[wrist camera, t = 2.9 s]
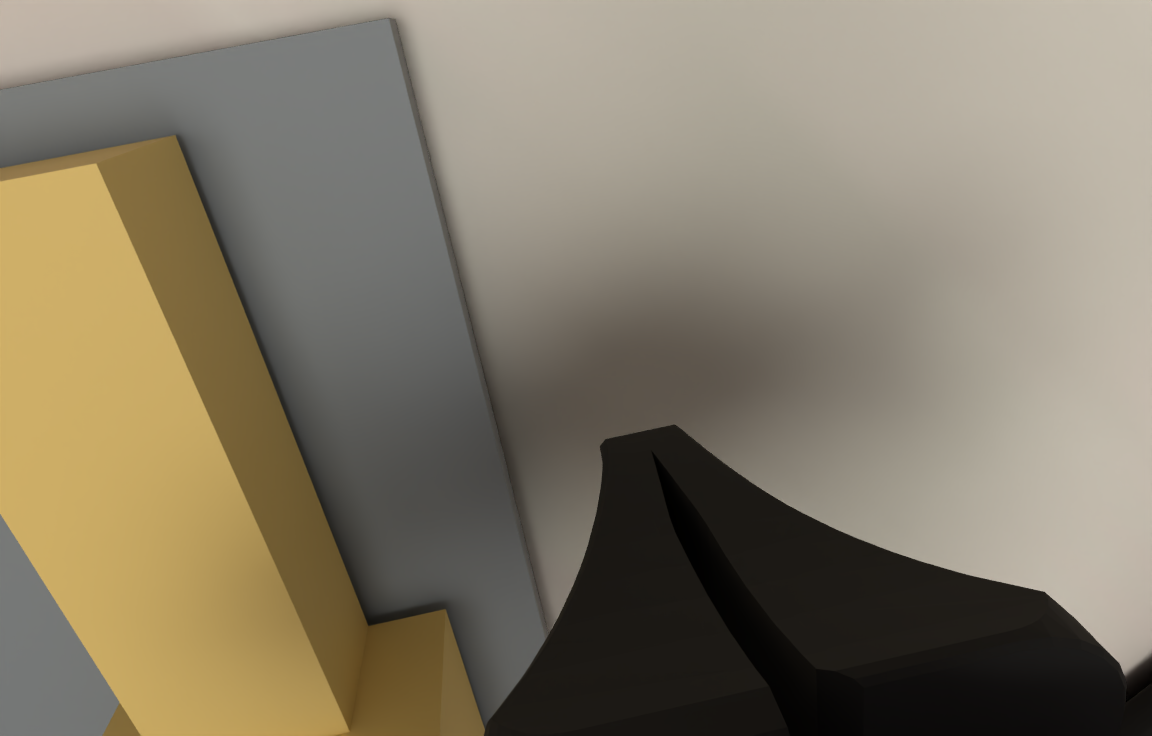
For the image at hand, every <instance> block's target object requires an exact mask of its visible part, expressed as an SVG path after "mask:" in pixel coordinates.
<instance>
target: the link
mask: <svg viewBox="0 0 1152 736" xmlns="http://www.w3.org/2000/svg"><path fill="white" fill-rule="evenodd" d="M0 514H1V516H2V517H3V519H4V521H5V522H6V524H7V525H8V527H9V528H10V530H11V532H12V533H13V535H14V536H15V538H16V539H17V541H18V543H19V544H20V546H21V547H22V549H23V550H24V552H25V554H26V555H27V557H28V558H29V560H30V562H31V563H32V565H33V566H34V568H35V569H36V571H37V573H38V574H39V576H40V577H41V579H42V580H43V582H44V584H45V585H46V587H47V588H48V590H49V592H50V593H51V595H52V596H53V598H54V599H55V601H56V603H57V604H58V606H59V607H60V609H61V610H62V612H63V614H64V615H65V617H66V618H67V620H68V621H69V623H70V625H71V626H72V628H73V629H74V631H75V633H76V634H77V636H78V637H79V639H80V640H81V642H82V644H83V645H84V647H85V648H86V650H87V651H88V653H89V655H90V656H91V658H92V659H93V661H94V663H95V664H96V666H97V667H98V669H99V670H100V672H101V674H102V675H103V677H104V678H105V680H106V681H107V683H108V685H109V686H110V688H111V689H112V691H113V692H114V694H115V696H116V697H117V699H118V700H119V702H120V703H119V705H118V707H117V709H116V711H115V712H114V714H113V716H112V718H111V720H110V722H109V724H108V726H107V728H106V730H105V732H104V733H103V735H102V736H484V732H485V728H484V725H483V722H482V719H481V716H480V713H479V710H478V707H477V704H476V701H475V698H474V695H473V692H472V688H471V685H470V682H469V679H468V676H467V673H466V670H465V667H464V664H463V661H462V658H461V655H460V652H459V649H458V646H457V642H456V639H455V636H454V633H453V630H452V627H451V624H450V621H449V618H448V615H447V612H446V609H443V610H439V611H434V612H430V613H425V614H421V615H416V616H412V617H407V618H403V619H398V620H394V621H389V622H385V623H380V624H375V625H371V626H368V624H367V621H366V619H365V616H364V614H363V611H362V609H361V606H360V603H359V601H358V598H357V596H356V593H355V591H354V588H353V586H352V583H351V581H350V578H349V575H348V573H347V570H346V568H345V565H344V563H343V560H342V558H341V555H340V553H339V550H338V547H337V545H336V542H335V540H334V537H333V535H332V532H331V530H330V527H329V525H328V522H327V520H326V517H325V514H324V512H323V509H322V507H321V504H320V502H319V499H318V497H317V494H316V492H315V489H314V486H313V484H312V481H311V479H310V476H309V474H308V471H307V469H306V466H305V464H304V461H303V458H302V456H301V453H300V451H299V448H298V446H297V443H296V441H295V438H294V436H293V433H292V430H291V428H290V425H289V423H288V420H287V418H286V415H285V413H284V410H283V408H282V405H281V403H280V400H279V397H278V395H277V392H276V390H275V387H274V385H273V382H272V380H271V377H270V375H269V372H268V369H267V367H266V364H265V362H264V359H263V357H262V354H261V352H260V349H259V347H258V344H257V341H256V339H255V336H254V334H253V331H252V329H251V326H250V324H249V321H248V319H247V316H246V313H245V311H244V308H243V306H242V303H241V301H240V298H239V296H238V293H237V291H236V288H235V286H234V283H233V280H232V278H231V275H230V273H229V270H228V268H227V265H226V263H225V260H224V258H223V255H222V252H221V250H220V247H219V245H218V242H217V240H216V237H215V235H214V232H213V230H212V227H211V224H210V222H209V219H208V217H207V214H206V212H205V209H204V207H203V204H202V202H201V199H200V196H199V194H198V191H197V189H196V186H195V184H194V181H193V179H192V176H191V174H190V171H189V169H188V166H187V163H186V161H185V158H184V156H183V153H182V151H181V148H180V146H179V143H178V141H177V138H176V135H173V136H168V137H162V138H157V139H152V140H147V141H141V142H136V143H131V144H125V145H120V146H115V147H110V148H104V149H99V150H94V151H88V152H83V153H78V154H73V155H67V156H62V157H57V158H51V159H46V160H41V161H36V162H30V163H25V164H20V165H14V166H9V167H4V168H0Z"/></svg>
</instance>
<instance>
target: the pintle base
mask: <svg viewBox="0 0 1152 736" xmlns="http://www.w3.org/2000/svg"><path fill="white" fill-rule="evenodd" d="M173 135H176V138H177V141H178V143H179V146H180V148H181V151H182V153H183V156H184V158H185V161H186V163H187V166H188V169H189V171H190V174H191V176H192V179H193V181H194V184H195V186H196V189H197V191H198V194H199V196H200V199H201V202H202V204H203V207H204V209H205V212H206V214H207V217H208V219H209V222H210V224H211V227H212V230H213V232H214V235H215V237H216V240H217V242H218V245H219V247H220V250H221V252H222V255H223V258H224V260H225V263H226V265H227V268H228V270H229V273H230V275H231V278H232V280H233V283H234V286H235V288H236V291H237V293H238V296H239V298H240V301H241V303H242V306H243V308H244V311H245V313H246V316H247V319H248V321H249V324H250V326H251V329H252V331H253V334H254V336H255V339H256V341H257V344H258V347H259V349H260V352H261V354H262V357H263V359H264V362H265V364H266V367H267V369H268V372H269V375H270V377H271V380H272V382H273V385H274V387H275V390H276V392H277V395H278V397H279V400H280V403H281V405H282V408H283V410H284V413H285V415H286V418H287V420H288V423H289V425H290V428H291V430H292V433H293V436H294V438H295V441H296V443H297V446H298V448H299V451H300V453H301V456H302V458H303V461H304V464H305V466H306V469H307V471H308V474H309V476H310V479H311V481H312V484H313V486H314V489H315V492H316V494H317V497H318V499H319V502H320V504H321V507H322V509H323V512H324V514H325V517H326V520H327V522H328V525H329V527H330V530H331V532H332V535H333V537H334V540H335V542H336V545H337V547H338V550H339V553H340V555H341V558H342V560H343V563H344V565H345V568H346V570H347V573H348V575H349V578H350V581H351V583H352V586H353V588H354V591H355V593H356V596H357V598H358V601H359V603H360V606H361V609H362V611H363V614H364V616H365V619H366V621H367V624H368V626H371V625H375V624H380V623H385V622H389V621H394V620H398V619H403V618H407V617H412V616H416V615H421V614H425V613H430V612H434V611H439V610H443V609H446V612H447V615H448V618H449V621H450V624H451V627H452V630H453V633H454V636H455V639H456V642H457V646H458V649H459V652H460V655H461V658H462V661H463V664H464V667H465V670H466V673H467V676H468V679H469V682H470V685H471V688H472V692H473V695H474V698H475V701H476V704H477V707H478V710H479V713H480V716H481V719H482V722H483V725H484V728H485V729H486V725H487V722H488V721H489V719H490V718H491V717H492V716H493V714H494V713H495V712H496V711H497V709H498V708H499V707H500V705H501V704H502V703H503V701H504V700H505V699H506V698H507V696H508V695H509V694H510V692H511V691H512V690H513V688H514V687H515V686H516V684H517V683H518V682H519V681H520V679H521V678H522V676H523V675H524V673H525V672H526V671H527V669H528V668H529V666H530V664H531V663H532V661H533V659H534V658H535V656H536V655H537V653H538V651H539V650H540V648H541V646H542V645H543V643H544V642H545V640H546V638H547V637H548V631H547V627H546V623H545V619H544V615H543V611H542V607H541V603H540V599H539V595H538V591H537V587H536V583H535V578H534V574H533V570H532V566H531V562H530V558H529V554H528V550H527V546H526V542H525V538H524V534H523V530H522V526H521V522H520V518H519V514H518V510H517V506H516V502H515V498H514V494H513V490H512V486H511V482H510V478H509V474H508V470H507V466H506V462H505V458H504V454H503V450H502V446H501V442H500V438H499V434H498V430H497V426H496V422H495V418H494V414H493V410H492V406H491V402H490V398H489V394H488V390H487V386H486V382H485V378H484V374H483V370H482V366H481V362H480V358H479V354H478V350H477V346H476V342H475V338H474V334H473V329H472V325H471V321H470V317H469V313H468V309H467V305H466V301H465V297H464V293H463V289H462V285H461V281H460V277H459V273H458V269H457V265H456V261H455V257H454V253H453V249H452V245H451V241H450V237H449V233H448V229H447V225H446V221H445V217H444V213H443V209H442V205H441V201H440V197H439V193H438V189H437V185H436V181H435V177H434V173H433V169H432V165H431V161H430V157H429V153H428V149H427V145H426V141H425V137H424V133H423V129H422V125H421V121H420V117H419V113H418V109H417V105H416V101H415V97H414V93H413V89H412V85H411V80H410V76H409V72H408V68H407V64H406V60H405V56H404V52H403V48H402V44H401V40H400V36H399V32H398V28H397V24H396V20H395V19H391V18H387V19H381V20H376V21H370V22H365V23H360V24H354V25H349V26H343V27H338V28H332V29H327V30H322V31H316V32H311V33H305V34H300V35H294V36H289V37H284V38H278V39H273V40H267V41H262V42H257V43H251V44H246V45H240V46H235V47H229V48H224V49H219V50H213V51H208V52H202V53H197V54H191V55H186V56H181V57H175V58H170V59H164V60H159V61H154V62H148V63H143V64H137V65H132V66H126V67H121V68H116V69H110V70H105V71H99V72H94V73H88V74H83V75H78V76H72V77H67V78H61V79H56V80H51V81H45V82H40V83H34V84H29V85H23V86H18V87H13V88H7V89H2V90H0V168H4V167H9V166H14V165H20V164H25V163H30V162H36V161H41V160H46V159H51V158H57V157H62V156H67V155H73V154H78V153H83V152H88V151H94V150H99V149H104V148H110V147H115V146H120V145H125V144H131V143H136V142H141V141H147V140H152V139H157V138H162V137H168V136H173ZM119 703H120V702H119V700H118V699H117V697H116V696H115V694H114V692H113V691H112V689H111V688H110V686H109V685H108V683H107V681H106V680H105V678H104V677H103V675H102V674H101V672H100V670H99V669H98V667H97V666H96V664H95V663H94V661H93V659H92V658H91V656H90V655H89V653H88V651H87V650H86V648H85V647H84V645H83V644H82V642H81V640H80V639H79V637H78V636H77V634H76V633H75V631H74V629H73V628H72V626H71V625H70V623H69V621H68V620H67V618H66V617H65V615H64V614H63V612H62V610H61V609H60V607H59V606H58V604H57V603H56V601H55V599H54V598H53V596H52V595H51V593H50V592H49V590H48V588H47V587H46V585H45V584H44V582H43V580H42V579H41V577H40V576H39V574H38V573H37V571H36V569H35V568H34V566H33V565H32V563H31V562H30V560H29V558H28V557H27V555H26V554H25V552H24V550H23V549H22V547H21V546H20V544H19V543H18V541H17V539H16V538H15V536H14V535H13V533H12V532H11V530H10V528H9V527H8V525H7V524H6V522H5V521H4V519H3V517H2V516H1V514H0V736H102V735H103V733H104V732H105V730H106V728H107V726H108V724H109V722H110V720H111V718H112V716H113V714H114V712H115V711H116V709H117V707H118V705H119Z"/></svg>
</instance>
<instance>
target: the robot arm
mask: <svg viewBox="0 0 1152 736" xmlns="http://www.w3.org/2000/svg"><path fill="white" fill-rule="evenodd" d="M600 450H601V456H602V461H603V469H602V482H601V489H600V496H599V502H598V508H597V513H596V517H595V521H594V525H593V528H592V532H591V536H590V540H589V543H588V547H587V550H586V553H585V556H584V559H583V562H582V564H581V567H580V570H579V572H578V575H577V577H576V580H575V582H574V585H573V587H572V589H571V592H570V594H569V596H568V598H567V600H566V602H565V604H564V607H563V609H562V611H561V613H560V615H559V617H558V619H557V621H556V623H555V624H554V626H553V628H552V630H551V632H550V633H549V635H548V637H547V638H546V640H545V642H544V643H543V645H542V646H541V648H540V650H539V651H538V653H537V655H536V656H535V658H534V659H533V661H532V663H531V664H530V666H529V668H528V669H527V671H526V672H525V673H524V675H523V676H522V678H521V679H520V681H519V682H518V683H517V684H516V686H515V687H514V688H513V690H512V691H511V692H510V694H509V695H508V696H507V698H506V699H505V700H504V701H503V703H502V704H501V705H500V707H499V708H498V709H497V711H496V712H495V713H494V714H493V716H492V717H491V718H490V719H489V721H488V722H487V725H486V729H485V732H484V736H1118V735H1119V731H1120V727H1121V723H1122V719H1123V715H1124V710H1125V702H1126V685H1127V682H1126V680H1125V677H1124V674H1123V672H1122V669H1121V666H1120V664H1119V663H1118V662H1117V661H1116V660H1115V659H1114V658H1113V657H1112V656H1111V655H1110V654H1109V653H1108V652H1107V651H1106V650H1105V649H1104V648H1103V647H1102V646H1101V645H1100V644H1099V643H1098V642H1097V641H1096V640H1095V638H1094V637H1093V636H1092V635H1091V634H1090V633H1089V632H1088V631H1087V630H1086V629H1085V628H1084V627H1083V626H1082V625H1081V624H1080V623H1079V622H1078V621H1077V620H1076V619H1075V618H1074V617H1073V616H1072V615H1070V614H1069V613H1068V612H1067V611H1066V610H1065V609H1064V608H1062V607H1061V606H1060V605H1059V604H1058V603H1057V602H1056V601H1054V600H1053V599H1052V598H1051V597H1050V596H1049V595H1047V594H1046V593H1045V592H1042V591H1038V590H1033V589H1029V588H1024V587H1020V586H1015V585H1011V584H1006V583H1001V582H997V581H992V580H988V579H983V578H979V577H974V576H970V575H966V574H962V573H958V572H955V571H952V570H948V569H945V568H941V567H938V566H934V565H931V564H927V563H924V562H921V561H918V560H915V559H912V558H909V557H906V556H903V555H900V554H897V553H894V552H891V551H888V550H886V549H883V548H880V547H878V546H875V545H873V544H870V543H867V542H865V541H862V540H860V539H857V538H854V537H852V536H850V535H848V534H845V533H843V532H841V531H838V530H836V529H834V528H832V527H830V526H828V525H826V524H824V523H821V522H819V521H817V520H815V519H813V518H811V517H809V516H807V515H805V514H803V513H801V512H799V511H797V510H796V509H794V508H792V507H790V506H788V505H786V504H785V503H783V502H781V501H780V500H778V499H776V498H775V497H773V496H771V495H770V494H768V493H766V492H765V491H763V490H762V489H760V488H759V487H757V486H756V485H754V484H753V483H751V482H750V481H748V480H747V479H745V478H744V477H743V476H741V475H740V474H738V473H737V472H735V471H734V470H733V469H731V468H730V467H728V466H727V465H726V464H724V463H723V462H722V461H720V460H719V459H718V458H716V457H715V456H714V455H713V454H711V453H710V452H709V451H707V450H706V449H705V448H704V447H702V446H701V445H700V444H699V443H697V442H696V441H695V440H694V439H693V438H691V437H690V436H689V435H688V434H686V433H685V432H684V431H683V430H682V429H680V428H679V427H677V426H676V425H671V426H666V427H661V428H657V429H652V430H647V431H643V432H638V433H633V434H628V435H624V436H619V437H614V438H609V439H605V441H604V442H603V443H602V444H601V446H600Z"/></svg>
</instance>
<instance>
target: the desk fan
mask: <svg viewBox="0 0 1152 736" xmlns="http://www.w3.org/2000/svg"><path fill="white" fill-rule="evenodd" d="M1118 736H1152V683H1151V684H1150V685H1148V686H1147V687H1146V688H1144V689H1143V690H1142V691H1141V692H1139V693H1138V694H1137V695H1135V696H1134V697H1133V698H1131V699H1130V700H1129V701H1128V702H1126V703H1125V710H1124V715H1123V719H1122V723H1121V727H1120V731H1119V735H1118Z"/></svg>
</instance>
